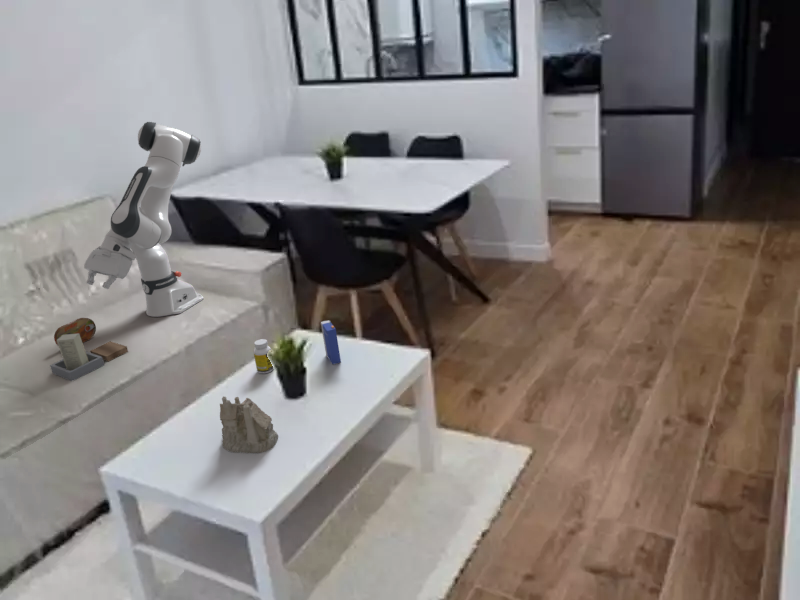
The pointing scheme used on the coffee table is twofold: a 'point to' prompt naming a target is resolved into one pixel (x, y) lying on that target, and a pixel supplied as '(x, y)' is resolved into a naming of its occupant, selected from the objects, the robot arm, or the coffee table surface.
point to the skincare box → (72, 351)
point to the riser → (110, 350)
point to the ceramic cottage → (246, 427)
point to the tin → (77, 329)
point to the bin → (71, 375)
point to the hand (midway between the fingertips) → (97, 286)
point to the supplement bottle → (262, 356)
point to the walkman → (330, 342)
